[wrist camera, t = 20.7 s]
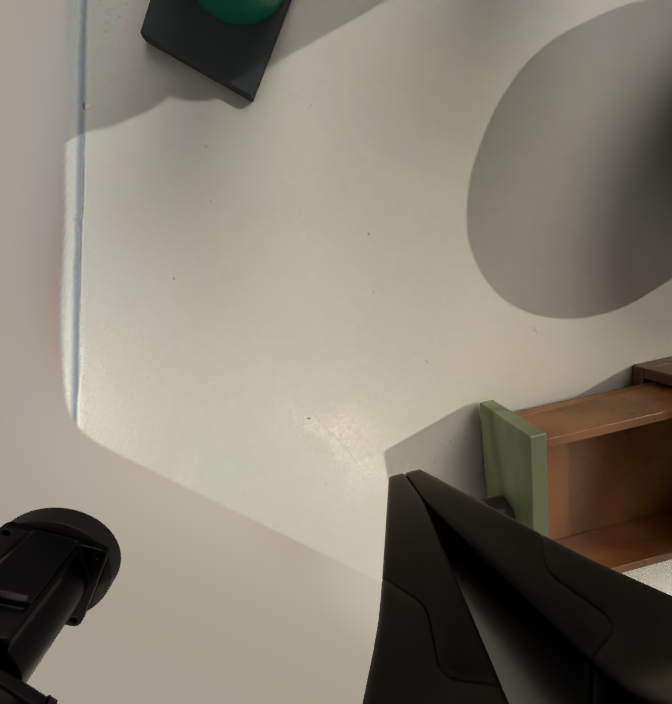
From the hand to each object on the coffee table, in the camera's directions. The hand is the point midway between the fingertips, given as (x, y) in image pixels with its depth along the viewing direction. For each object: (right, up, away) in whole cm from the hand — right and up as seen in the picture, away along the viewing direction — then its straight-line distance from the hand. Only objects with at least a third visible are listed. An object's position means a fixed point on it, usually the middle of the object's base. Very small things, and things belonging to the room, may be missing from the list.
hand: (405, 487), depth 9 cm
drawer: (+16, -5, +16) cm, 23 cm away
